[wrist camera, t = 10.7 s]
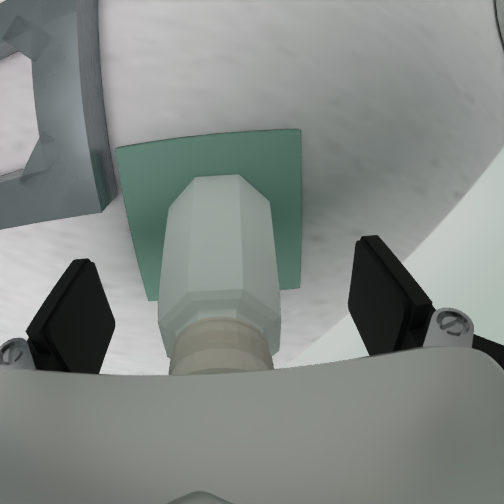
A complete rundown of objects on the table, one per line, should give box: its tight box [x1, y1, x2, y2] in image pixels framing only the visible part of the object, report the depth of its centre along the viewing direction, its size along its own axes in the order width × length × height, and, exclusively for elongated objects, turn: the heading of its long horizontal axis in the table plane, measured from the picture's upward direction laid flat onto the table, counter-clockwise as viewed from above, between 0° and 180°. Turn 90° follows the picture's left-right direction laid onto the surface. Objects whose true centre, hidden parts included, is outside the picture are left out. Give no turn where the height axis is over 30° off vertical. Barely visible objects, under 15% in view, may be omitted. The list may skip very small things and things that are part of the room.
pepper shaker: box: [158, 174, 281, 375], centre depth 11 cm, size 5×5×11 cm
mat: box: [115, 129, 302, 301], centre depth 17 cm, size 9×9×1 cm
